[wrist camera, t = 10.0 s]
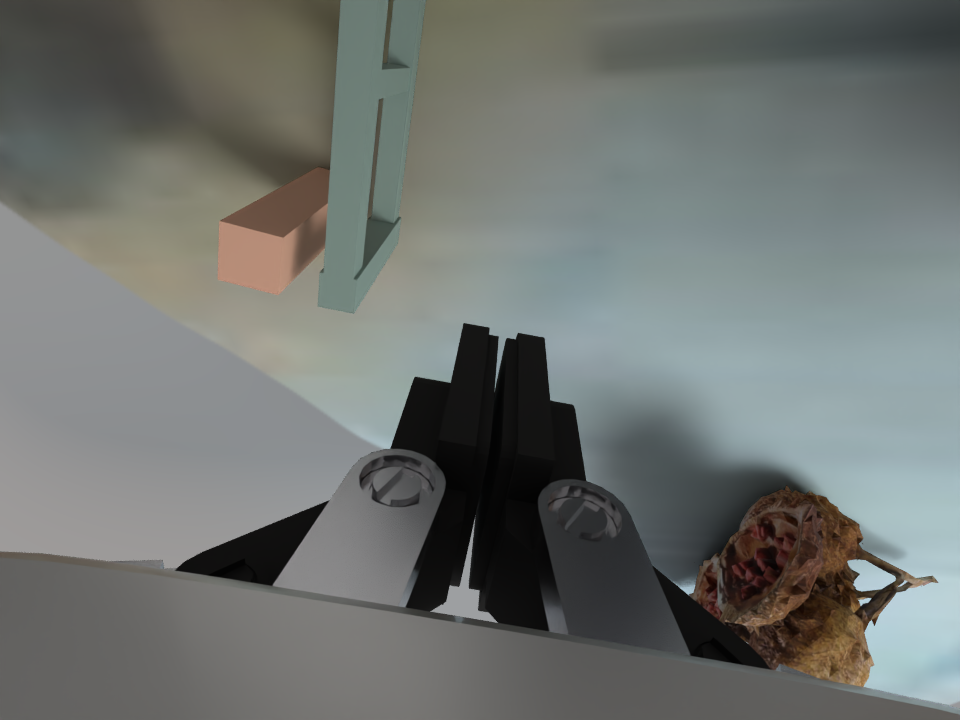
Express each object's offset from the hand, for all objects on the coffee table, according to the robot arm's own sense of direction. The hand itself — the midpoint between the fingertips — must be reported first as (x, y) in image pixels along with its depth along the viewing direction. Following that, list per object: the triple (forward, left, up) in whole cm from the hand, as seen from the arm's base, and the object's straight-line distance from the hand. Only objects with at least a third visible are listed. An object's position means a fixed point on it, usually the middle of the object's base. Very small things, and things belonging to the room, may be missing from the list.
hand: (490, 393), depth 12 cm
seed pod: (-27, +20, -23) cm, 40 cm away
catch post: (+9, +3, -22) cm, 24 cm away
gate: (+6, -4, -21) cm, 23 cm away
